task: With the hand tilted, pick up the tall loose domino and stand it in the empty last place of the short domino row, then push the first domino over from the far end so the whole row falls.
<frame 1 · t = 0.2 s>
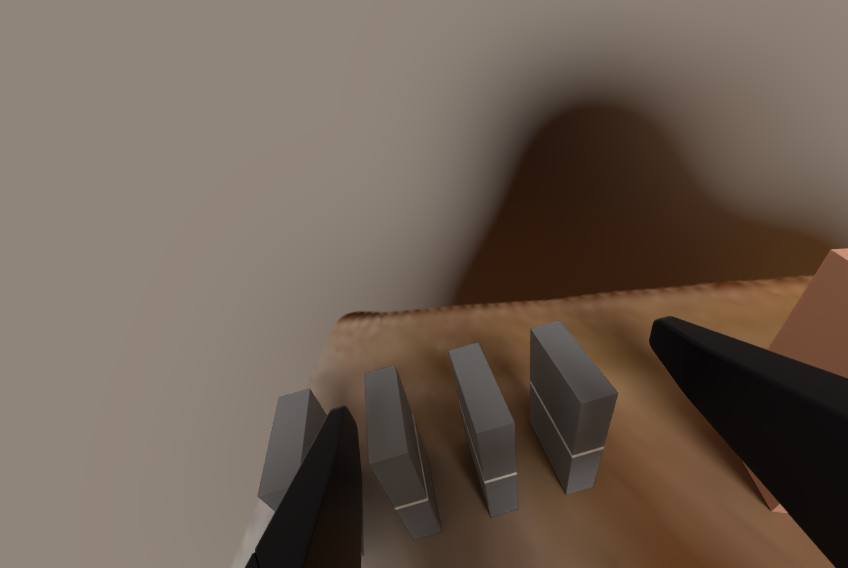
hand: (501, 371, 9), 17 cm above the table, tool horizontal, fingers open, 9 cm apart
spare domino: (761, 464, 20), on the table
domino 4: (558, 451, 23), on the table
domino 3: (490, 471, 23), on the table
domino 2: (420, 491, 22), on the table
domino 1: (349, 512, 22), on the table
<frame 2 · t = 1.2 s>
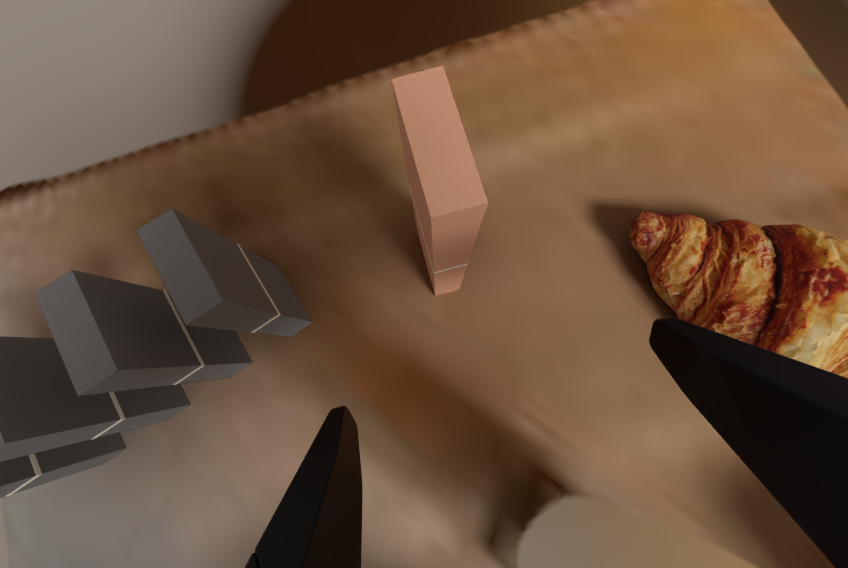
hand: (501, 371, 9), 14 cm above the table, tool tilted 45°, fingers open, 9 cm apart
croissant: (747, 320, 23), on the table
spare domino: (437, 259, 24), on the table
domino 4: (284, 300, 24), on the table
domino 3: (224, 339, 24), on the table
domino 2: (163, 380, 23), on the table
domino 1: (100, 422, 23), on the table
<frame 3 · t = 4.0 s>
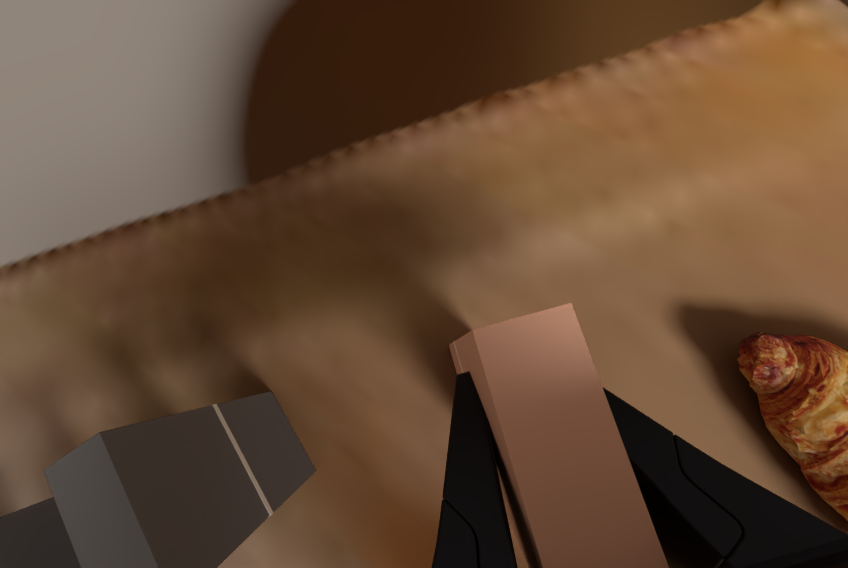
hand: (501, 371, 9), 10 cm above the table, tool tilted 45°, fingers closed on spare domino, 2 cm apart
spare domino: (476, 384, 19), on the table, touching gripper
domino 4: (279, 439, 19), on the table
domino 3: (203, 493, 18), on the table
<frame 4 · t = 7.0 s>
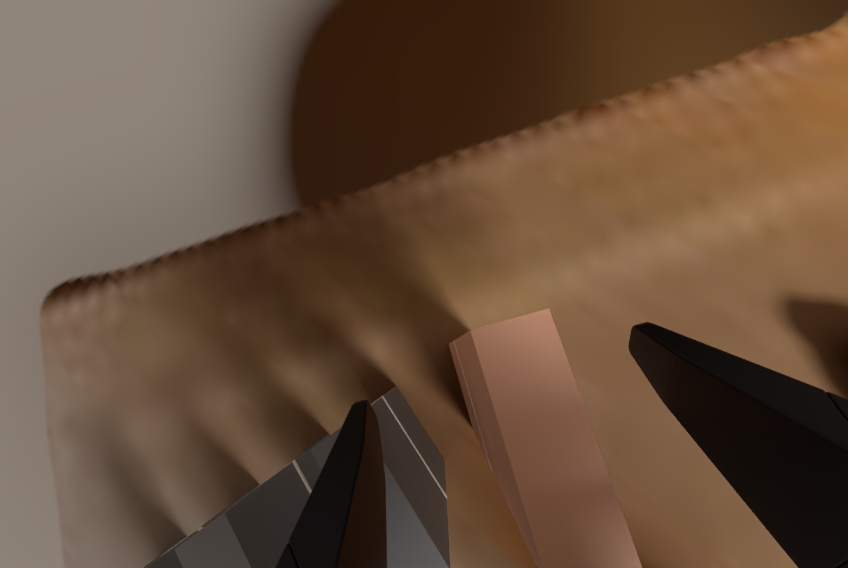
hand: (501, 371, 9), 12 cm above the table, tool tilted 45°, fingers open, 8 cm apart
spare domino: (474, 380, 20), on the table
domino 4: (407, 430, 20), on the table
domino 3: (338, 481, 20), on the table
domino 2: (267, 534, 19), on the table
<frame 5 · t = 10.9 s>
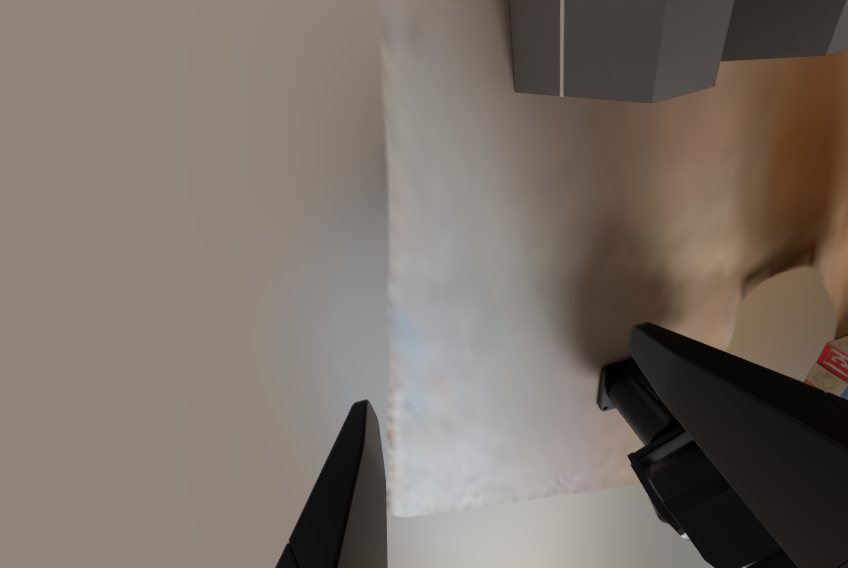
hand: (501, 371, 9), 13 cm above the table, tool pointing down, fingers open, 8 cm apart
stack of blocks: (813, 393, 40), on the table
domino 2: (626, 1, 16), on the table
domino 1: (528, 27, 16), on the table
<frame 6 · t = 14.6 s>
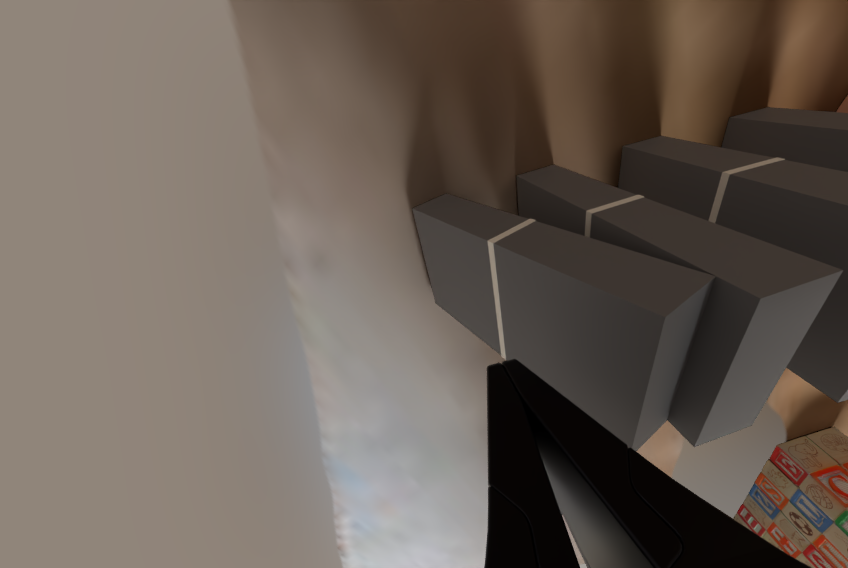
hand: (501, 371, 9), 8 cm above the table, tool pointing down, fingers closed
stack of blocks: (772, 478, 40), on the table
domino 4: (731, 170, 16), on the table
domino 3: (633, 196, 16), on the table
domino 2: (536, 223, 16), on the table
domino 1: (440, 252, 16), on the table, tilted 23°
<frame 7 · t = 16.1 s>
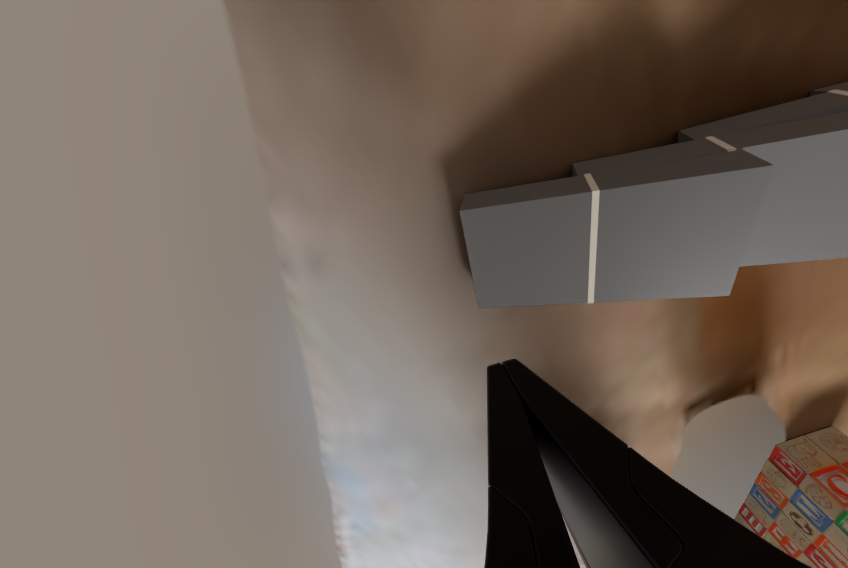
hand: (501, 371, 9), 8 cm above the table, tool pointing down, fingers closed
stack of blocks: (773, 477, 40), on the table
domino 3: (681, 192, 15), point 1 cm above the table, tilted 69°, touching domino 2
domino 2: (575, 224, 15), point 1 cm above the table, tilted 68°, touching domino 1, domino 3
domino 1: (471, 253, 15), point 1 cm above the table, tilted 69°, touching domino 2
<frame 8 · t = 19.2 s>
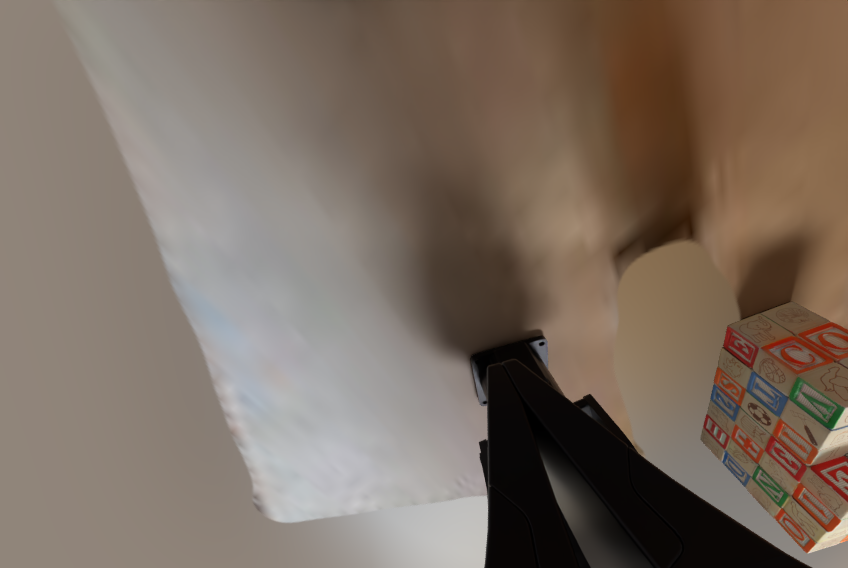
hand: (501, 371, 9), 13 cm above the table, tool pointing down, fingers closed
stack of blocks: (735, 379, 36), on the table
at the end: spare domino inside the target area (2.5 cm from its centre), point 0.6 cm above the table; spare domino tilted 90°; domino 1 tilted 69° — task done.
